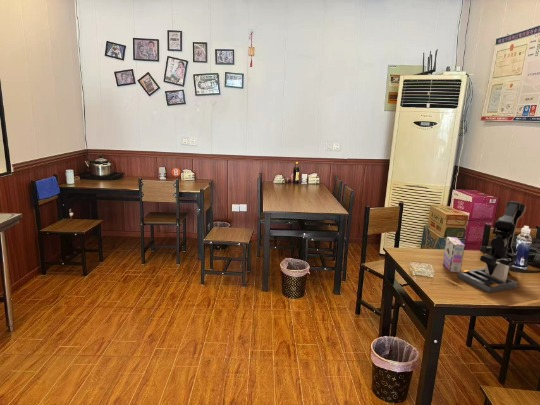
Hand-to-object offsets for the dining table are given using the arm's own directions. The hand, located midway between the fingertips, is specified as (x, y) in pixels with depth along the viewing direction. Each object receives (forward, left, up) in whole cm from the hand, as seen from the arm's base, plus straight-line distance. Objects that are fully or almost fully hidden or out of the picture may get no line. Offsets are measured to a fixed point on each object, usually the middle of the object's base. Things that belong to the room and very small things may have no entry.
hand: (495, 273), depth 183 cm
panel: (0, 0, -4) cm, 4 cm away
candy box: (+7, -21, -5) cm, 23 cm away
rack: (+6, 0, -5) cm, 7 cm away
